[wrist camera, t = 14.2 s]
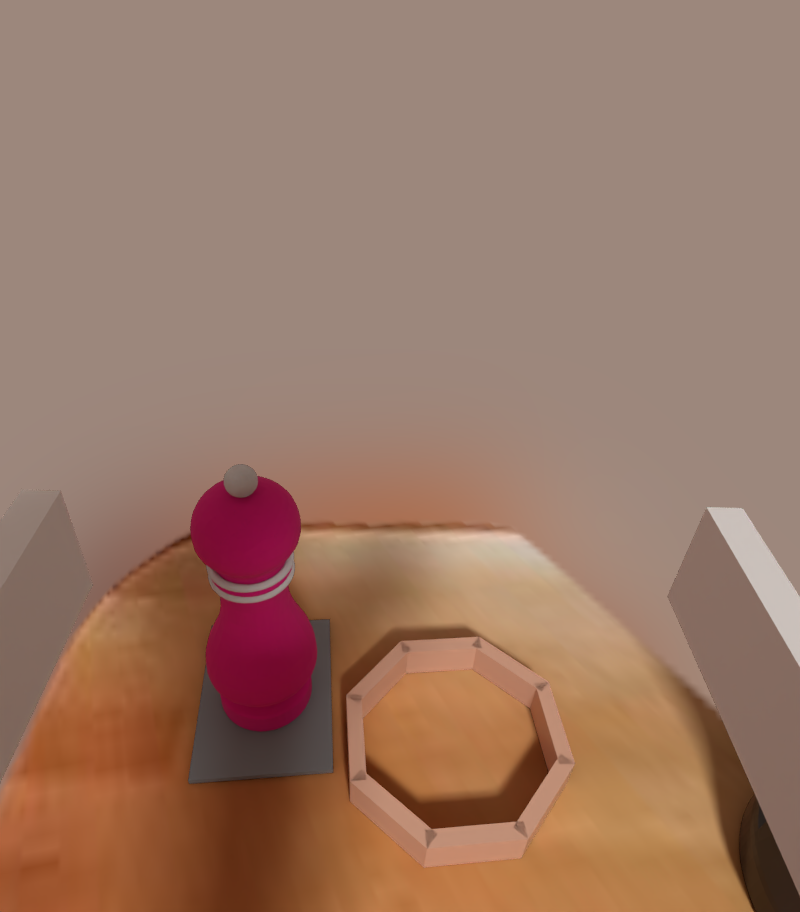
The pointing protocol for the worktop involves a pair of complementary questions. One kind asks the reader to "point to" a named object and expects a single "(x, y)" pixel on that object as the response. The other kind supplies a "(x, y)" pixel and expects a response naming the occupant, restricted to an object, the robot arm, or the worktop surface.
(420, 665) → the octagonal frame ring
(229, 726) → the mat
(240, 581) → the pepper mill
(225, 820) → the worktop surface
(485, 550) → the worktop surface
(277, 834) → the worktop surface
